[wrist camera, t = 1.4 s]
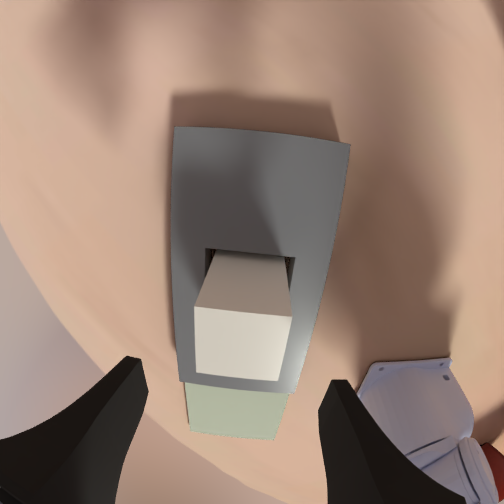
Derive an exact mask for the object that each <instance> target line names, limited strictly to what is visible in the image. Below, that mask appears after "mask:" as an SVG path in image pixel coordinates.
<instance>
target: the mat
mask: <svg viewBox="0 0 504 504" xmlns="http://www.w3.org/2000/svg"><path fill="white" fill-rule="evenodd" d="M185 391H186V400H187V408H188V417H189V424H190V431H192V432H198V433H205V434H212V435H219V436H227V437H236V438H247V439H261V440H274V439H275V436H276V433H277V430H278V427H279V424H280V421H281V418H282V415H283V412H284V409H285V406H286V403H287V400H288V396H289V393H272V392H258V391H247V390H237V389H228V388H220V387H212V386H205V385H199V384H192V383H186V382H185Z"/></svg>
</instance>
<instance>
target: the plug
mask: <svg viewBox="0 0 504 504" xmlns="http://www.w3.org/2000/svg"><path fill="white" fill-rule="evenodd" d="M291 322H292V309H291V302H290V294H289V287H288V280H287V273H286V266H285V259H284V256H278V255H268V254H259V253H249V252H240V251H230V250H220V249H217V250H216V253H215V255H214V258H213V260H212V263H211V265H210V268H209V270H208V273H207V275H206V278H205V280H204V283H203V285H202V288H201V290H200V293H199V295H198V298H197V300H196V303H195V306H194V324H195V356H196V372H197V373H204V374H211V375H219V376H227V377H236V378H245V379H256V380H269V381H278V378H279V374H280V370H281V366H282V362H283V357H284V353H285V349H286V344H287V340H288V335H289V331H290V326H291Z"/></svg>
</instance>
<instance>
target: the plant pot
mask: <svg viewBox="0 0 504 504" xmlns="http://www.w3.org/2000/svg"><path fill="white" fill-rule="evenodd" d="M481 449H482V450H483V452H484V454H485V456H486V459H487V461H488V463H489V466H490V468H491V471H492V474H493V477H494V481H495V486H496V488H497V491H498V496H499V502H500V501H502V500H503V499H504V456H503V455H502V454H501V453H500V452H499V451H498V450H497V449H496V448H494V447H493V446H492V445H491V444H489V443H486V444H484V445H483V446H481ZM499 502H498V503H499Z"/></svg>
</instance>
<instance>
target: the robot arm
mask: <svg viewBox="0 0 504 504" xmlns="http://www.w3.org/2000/svg"><path fill="white" fill-rule="evenodd" d="M451 363H452V359H451V358H440V359H429V360H417V361H400V362H377V363H374V364H372V365H371V366H370V368H369V370H368V373H367V375H366V377H365V379H364V381H363V382H362V384H361V386H360V388H359V390H358V392H357V394H356V393H355V391H354V390H353V388H352V386H351V385H350V383H349V382H348V381H347V380H331V382H330V385H329V387H328V390H327V392H326V394H325V396H324V399H323V401H322V403H321V405H320V407H319V410H318V419H319V435H320V441H321V447H322V453H323V459H324V465H325V472H326V478H327V491H328V504H498V502H499V496H498V491H497V488H496V486H495V481H494V477H493V474H492V471H491V468H490V466H489V463H488V461H487V459H486V456H485V454H484V452H483V450H482V449H481V447H480V445H479V444H478V442H477V441H476V439H475V438H470V436H471V434H472V431H473V426H474V416H473V410H472V407H471V405H470V403H469V401H468V400H467V398H466V396H465V394H464V392H463V391H462V389H461V387H460V385H459V384H458V382H457V380H456V378H455V377H454V375H453V373H452V372H451V370H450V368H449V367H450V365H451ZM148 392H149V391H148V387H147V383H146V379H145V375H144V370H143V366H142V361H141V359H139V358H134V357H130V356H126V357H125V358H123V359H122V360H121V361H120V362H119V363H118V364H117V365H116V366H115V367H114V368H113V369H112V370H111V371H110V372H109V373H108V374H106V375H105V376H104V377H103V378H102V379H101V380H100V381H99V382H98V383H96V384H95V385H94V386H93V387H92V388H91V389H90V390H89V391H87V392H86V393H85V394H84V395H82V396H81V397H80V398H79V399H77V400H76V401H75V402H74V403H72V404H71V405H70V406H68V407H67V408H66V409H64V410H62V411H61V412H59V413H58V414H57V415H55V416H53V417H52V418H50V419H48V420H46V421H45V422H43V423H41V424H39V425H37V426H36V427H33V428H31V429H29V430H26V431H24V432H21V433H19V434H17V435H14V436H11V437H9V438H5V439H1V440H0V504H115V498H116V493H117V488H118V483H119V478H120V474H121V470H122V466H123V463H124V460H125V456H126V454H127V451H128V449H129V446H130V444H131V441H132V439H133V437H134V434H135V432H136V429H137V427H138V424H139V422H140V419H141V417H142V414H143V411H144V407H145V404H146V400H147V396H148Z"/></svg>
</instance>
